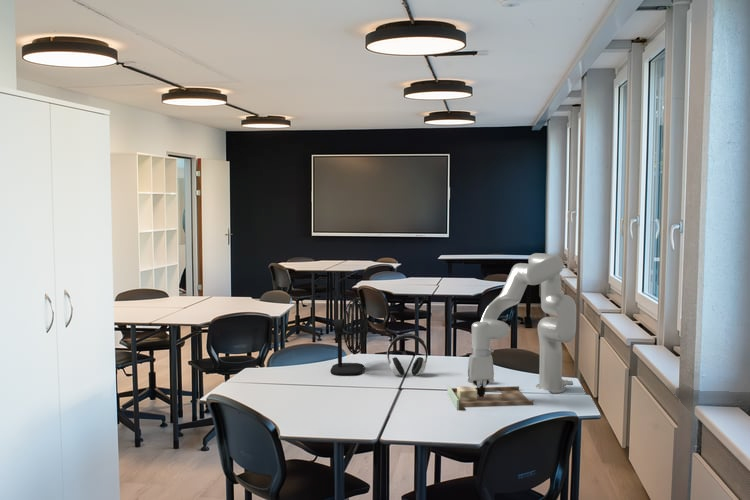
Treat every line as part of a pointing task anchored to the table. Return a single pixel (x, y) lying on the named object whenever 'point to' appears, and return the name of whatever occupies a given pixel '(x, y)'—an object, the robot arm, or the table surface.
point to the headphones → (419, 362)
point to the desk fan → (340, 329)
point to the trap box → (497, 398)
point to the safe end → (453, 397)
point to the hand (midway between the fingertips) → (481, 396)
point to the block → (467, 393)
